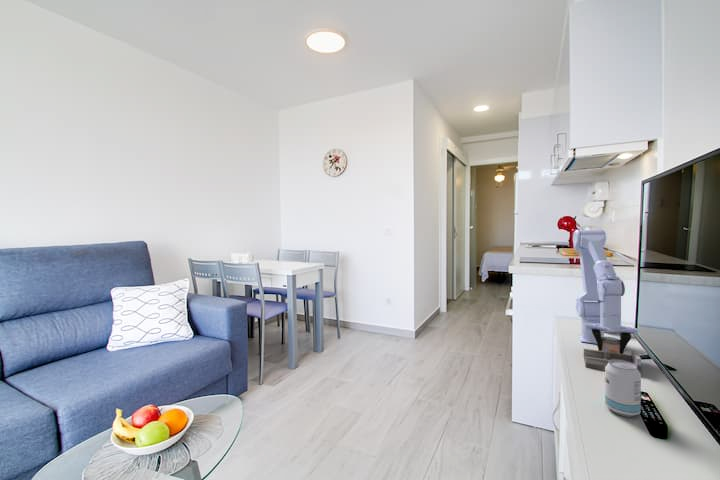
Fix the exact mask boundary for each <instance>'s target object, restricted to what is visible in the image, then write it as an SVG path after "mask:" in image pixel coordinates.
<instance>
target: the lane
mask: <svg viewBox="0 0 720 480" xmlns="http://www.w3.org/2000/svg"><path fill="white" fill-rule="evenodd" d="M583 360H584V366H585V368H589V369H594V370H601V371H605V367H606V365H607V364H608V363H609V360H607V359H604V351H599V350H598V349H589V348H583ZM610 360H623V361H627V362H630V363H633V364H635V365H636V366H637V369H638V371H639V372H640V374H641V377H642V376H643V373H642V357H640V355H639V353H638V351H637V350H636V349H631V354H626V353H624V354H620V353H612V352H610Z"/></svg>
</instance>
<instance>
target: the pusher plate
mask: <svg viewBox="0 0 720 480" xmlns="http://www.w3.org/2000/svg"><path fill="white" fill-rule="evenodd" d="M604 359H607V360H610V352H609V349H608V347H607V346H604Z"/></svg>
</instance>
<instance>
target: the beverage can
mask: <svg viewBox="0 0 720 480" xmlns="http://www.w3.org/2000/svg"><path fill="white" fill-rule="evenodd" d="M641 382H642V376H641V374H640V372H639V371H638V369H637V366H636V365H635V364H633V363H630V362H627V361H623V360H609V363H608V364H607V365H606V367H605V370H604V404H605V406H606V407H607V408H609V409H610V410H611V412H613V413H615V414H616V415H619V416H622V417H629V418H631V417H635V416H638V415H640V414H641V409H642V408H641V405H642V403H641V402H642V401H641V400H642V399H641V398H642V391H641V390H642V388H641V387H642V383H641Z"/></svg>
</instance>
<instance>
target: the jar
mask: <svg viewBox="0 0 720 480" xmlns="http://www.w3.org/2000/svg"><path fill="white" fill-rule="evenodd" d="M620 344H621V340H620V338H617V337H612V336H604V337H601V351H604V346H607V347H608V349H609V352H612V353H620Z"/></svg>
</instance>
